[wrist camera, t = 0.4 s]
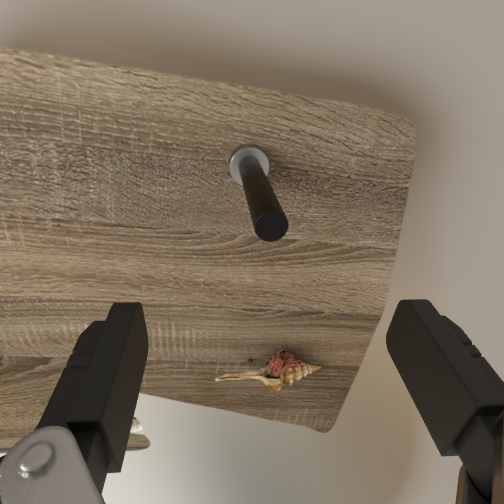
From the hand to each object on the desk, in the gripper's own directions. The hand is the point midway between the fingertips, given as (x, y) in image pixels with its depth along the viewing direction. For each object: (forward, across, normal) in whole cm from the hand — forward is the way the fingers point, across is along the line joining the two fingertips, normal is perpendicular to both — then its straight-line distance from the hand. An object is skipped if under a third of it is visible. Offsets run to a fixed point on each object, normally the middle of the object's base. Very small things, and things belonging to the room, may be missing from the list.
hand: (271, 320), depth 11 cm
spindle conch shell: (+22, -4, +29) cm, 36 cm away
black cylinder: (+23, -1, +3) cm, 23 cm away
